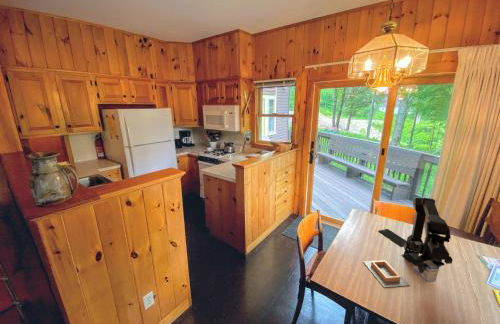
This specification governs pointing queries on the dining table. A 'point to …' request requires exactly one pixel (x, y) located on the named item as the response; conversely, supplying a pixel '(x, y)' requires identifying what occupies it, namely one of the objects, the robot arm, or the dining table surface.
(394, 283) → the end holder
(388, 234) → the cell phone
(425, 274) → the medicine box
